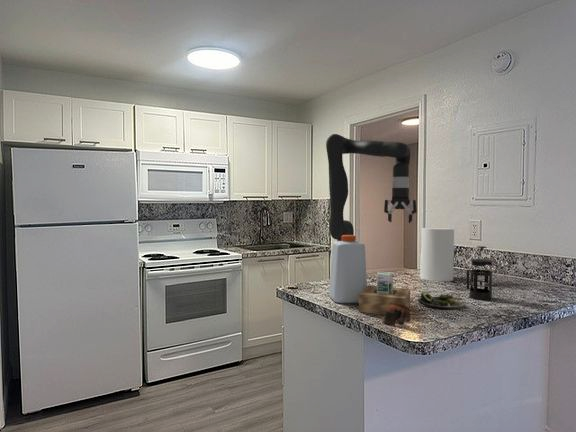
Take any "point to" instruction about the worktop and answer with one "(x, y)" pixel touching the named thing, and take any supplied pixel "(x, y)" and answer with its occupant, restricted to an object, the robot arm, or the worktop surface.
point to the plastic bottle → (347, 270)
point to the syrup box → (385, 283)
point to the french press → (477, 292)
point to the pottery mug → (396, 313)
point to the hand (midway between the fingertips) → (400, 222)
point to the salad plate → (440, 301)
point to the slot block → (381, 299)
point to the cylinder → (437, 254)
